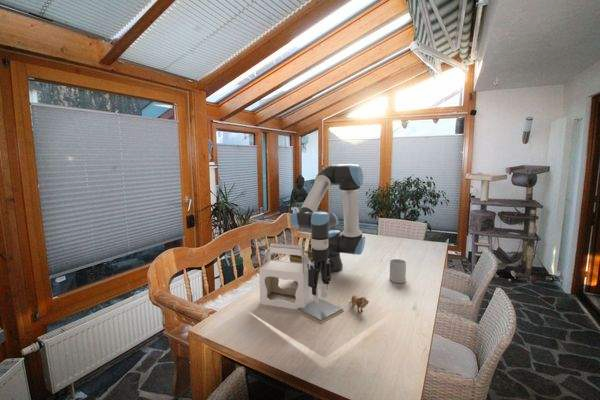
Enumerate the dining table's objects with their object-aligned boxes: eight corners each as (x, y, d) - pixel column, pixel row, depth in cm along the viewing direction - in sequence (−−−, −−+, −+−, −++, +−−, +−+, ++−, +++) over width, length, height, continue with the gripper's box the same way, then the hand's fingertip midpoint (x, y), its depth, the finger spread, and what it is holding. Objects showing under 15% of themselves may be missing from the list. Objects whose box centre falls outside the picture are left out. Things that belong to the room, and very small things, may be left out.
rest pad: (295, 310, 128) (295, 308, 128) (318, 300, 138) (318, 297, 138) (321, 323, 117) (321, 320, 117) (343, 310, 127) (343, 308, 127)
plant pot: (284, 283, 159) (283, 255, 157) (302, 275, 170) (302, 249, 168) (304, 290, 149) (303, 260, 147) (321, 282, 160) (321, 254, 158)
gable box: (259, 304, 135) (258, 246, 132) (271, 293, 147) (270, 239, 144) (304, 311, 128) (304, 250, 125) (312, 299, 140) (312, 242, 137)
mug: (402, 284, 156) (403, 264, 155) (387, 281, 161) (387, 261, 160) (409, 277, 165) (409, 259, 164) (394, 274, 170) (395, 256, 169)
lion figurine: (370, 314, 125) (370, 297, 124) (362, 316, 123) (362, 300, 122) (352, 302, 135) (352, 287, 134) (345, 305, 133) (345, 289, 132)
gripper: (311, 253, 116) (311, 309, 118) (339, 245, 128) (339, 296, 130) (298, 250, 121) (299, 303, 123) (326, 242, 133) (326, 291, 136)
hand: (319, 299), depth 127 cm, fingers open, 5 cm apart
